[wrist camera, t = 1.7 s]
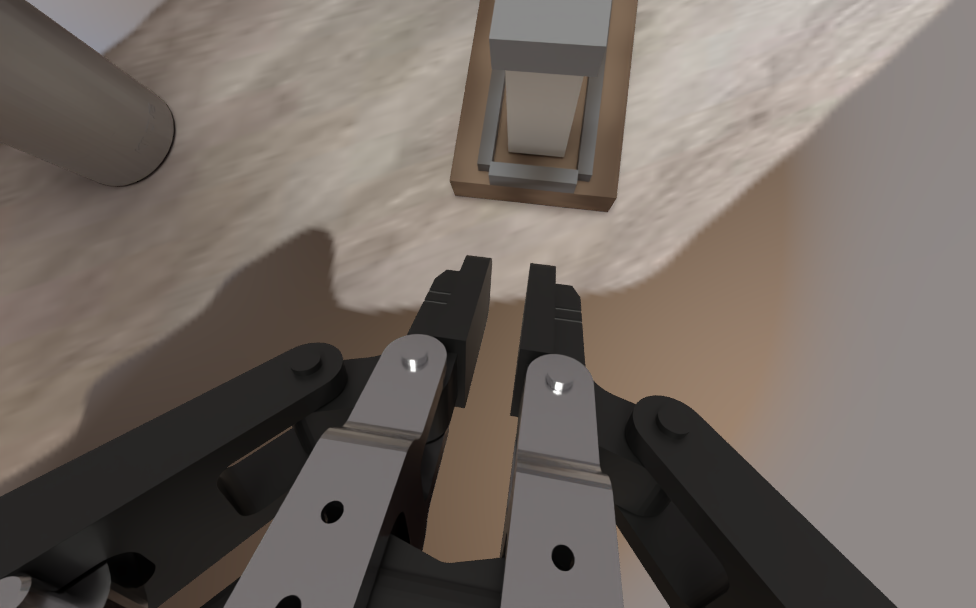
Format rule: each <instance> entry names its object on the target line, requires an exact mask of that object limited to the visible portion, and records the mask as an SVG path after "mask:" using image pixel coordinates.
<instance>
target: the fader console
mask: <svg viewBox="0 0 976 608" xmlns="http://www.w3.org/2000/svg"><path fill="white" fill-rule="evenodd" d="M637 3H638V0H612V1H611V10H610V18H609V27H608V35H607V44H606V49H605V52H604V56H603V59H602V63H601V66H600V69H599V73H598V76H597V77H587V76H584V77H583V81H582V85H581V89H580V93H579V97H578V102H577V106H576V110H575V114H574V118H573V122H572V126H571V130H570V135H569V139H568V143H567V147H566V151H565V155H564V157H556V156H546V155H535V154H525V153H514V152H508V129H507V103H506V77H505V70H493V69H492V68H491V57H490V45H489V35H490V29H491V23H492V17H493V11H494V5H495V0H480V3H479V9H478V15H477V21H476V27H475V33H474V39H473V45H472V51H471V57H470V63H469V69H468V75H467V81H466V86H465V92H464V98H463V104H462V110H461V116H460V122H459V128H458V134H457V140H456V146H455V152H454V158H453V164H452V170H451V176H450V183H451V186H452V188H453V191H454V193H455V195H457V196H466V197H475V198H485V199H494V200H503V201H512V202H521V203H531V204H540V205H549V206H558V207H568V208H577V209H586V210H595V211H604V212H608V211H609V209H610V208H611V206H612V204H613V203H614V201H615V200H616V198H617V189H618V180H619V170H620V161H621V152H622V142H623V133H624V124H625V114H626V105H627V96H628V87H629V77H630V68H631V59H632V49H633V40H634V31H635V21H636V12H637Z"/></svg>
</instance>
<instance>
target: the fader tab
mask: <svg viewBox="0 0 976 608" xmlns="http://www.w3.org/2000/svg"><path fill="white" fill-rule="evenodd" d="M611 1H612V0H495V5H494V11H493V17H492V23H491V29H490V35H489V45H490V57H491V68H492V69H493V70H505V77H506V103H507V129H508V152H514V153H525V154H535V155H546V156H556V157H564V155H565V151H566V147H567V143H568V139H569V135H570V130H571V126H572V122H573V118H574V114H575V110H576V106H577V102H578V97H579V93H580V89H581V85H582V81H583V77H584V76H587V77H597V76H598V73H599V69H600V66H601V63H602V59H603V56H604V52H605V49H606V44H607V35H608V27H609V18H610V10H611Z"/></svg>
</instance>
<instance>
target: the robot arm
mask: <svg viewBox="0 0 976 608" xmlns="http://www.w3.org/2000/svg"><path fill="white" fill-rule="evenodd" d="M173 132H174V126H173V118H172V115H171V112H170V110H169V108H168V106H167V105H166V103H165V102H164V101H163V100H162V99H161V98H160V97H159V96H157V95H156V94H154V93H153V92H152V91H150V90H149V89H148V88H146V87H145V86H143V85H142V84H141V83H139V82H138V81H136V80H135V79H134V78H132V77H131V76H130V75H128V74H127V73H125V72H124V71H123V70H121V69H120V68H118V67H117V66H116V65H114V64H113V63H112V62H110V61H109V60H108V59H106V58H105V57H104V56H102V55H101V54H99V53H98V52H97V51H95V50H94V49H92V48H91V47H90V46H88V45H87V44H86V43H84V42H83V41H81V40H80V39H78V38H77V37H76V36H74V35H73V34H72V33H70V32H69V31H67V30H66V29H65V28H63V27H62V26H60V25H59V24H58V23H56V22H55V21H54V20H52V19H51V18H49V17H48V16H47V15H45V14H44V13H43V12H41V11H40V10H38V9H37V8H36V7H34V6H33V5H31V4H30V3H29V2H27V1H25V0H0V142H1V143H4V144H6V145H9V146H11V147H14V148H16V149H18V150H21V151H23V152H26V153H28V154H31V155H33V156H35V157H38V158H40V159H42V160H45V161H47V162H49V163H52V164H54V165H57V166H59V167H62V168H64V169H67V170H69V171H71V172H74V173H76V174H79V175H81V176H84V177H86V178H89V179H91V180H94V181H96V182H99V183H101V184H104V185H110V186H122V185H128V184H131V183H134V182H137V181H139V180H141V179H143V178H144V177H146V176H147V175H149V174H150V173H151V172H152V171H154V170H155V169H156V168H157V167H158V165H159V164H160V163H161V162H162V161H163V159H164V158H165V156H166V154H167V153H168V151H169V148H170V145H171V143H172V138H173ZM491 272H492V258H485V257H477V256H469V255H467V256H466V257H465V260H464V262H463V265H462V267H461V270H460V271H453V270H446V271H444V272H443V273H442V274H440V275H439V276H438V277H436V278H435V280H434V282H433V284H432V286H431V288H430V290H429V292H428V294H427V296H426V298H425V301H424V302H423V304H422V306H421V308H420V310H419V312H418V314H417V316H416V318H415V320H414V322H413V324H412V326H411V328H410V330H409V332H408V334H407V336H403V337H401V338H398V339H396V340H394V341H393V342H392V343H390V344H389V345H388V346H387V347H386V349H385V350H384V351H383V353H382V355H380V356H375V357H369V358H359V359H349V360H343V357H342V354H341V352H340V351H339V350H338V349H337V348H336V347H334V346H332V345H330V344H326V343H308V344H304V345H301V346H298V347H295V348H293V349H291V350H289V351H287V352H285V353H283V354H281V355H279V356H277V357H275V358H273V359H271V360H269V361H267V362H265V363H263V364H261V365H259V366H258V367H255V368H253V369H251V370H249V371H248V372H245V373H243V374H241V375H239V376H238V377H236V378H234V379H232V380H230V381H228V382H226V383H224V384H222V385H220V386H218V387H216V388H214V389H212V390H210V391H208V392H206V393H204V394H202V395H201V396H198V397H196V398H194V399H192V400H190V401H188V402H186V403H184V404H182V405H180V406H178V407H176V408H175V409H172V410H170V411H169V412H167V413H165V414H163V415H161V416H159V417H157V418H155V419H153V420H151V421H149V422H147V423H145V424H143V425H141V426H139V427H137V428H135V429H133V430H131V431H129V432H127V433H125V434H123V435H121V436H119V437H117V438H115V439H113V440H111V441H109V442H107V443H106V444H103V445H102V446H99V447H98V448H96V449H94V450H92V451H90V452H88V453H86V454H84V455H82V456H80V457H78V458H76V459H74V460H72V461H70V462H68V463H66V464H64V465H62V466H60V467H58V468H56V469H54V470H52V471H50V472H48V473H46V474H44V475H42V476H40V477H38V478H36V479H35V480H32V481H30V482H29V483H27V484H25V485H23V486H21V487H19V488H17V489H15V490H13V491H11V492H9V493H7V494H5V495H3V496H1V497H0V608H157V607H159V606H160V605H161V604H162V603H164V602H165V601H166V600H168V599H169V598H170V597H172V596H173V595H174V594H175V593H177V592H178V591H179V590H181V589H182V588H183V587H185V586H186V585H187V584H189V583H190V582H191V581H192V580H194V579H195V578H196V577H198V576H199V575H200V574H202V573H203V572H204V571H205V570H207V569H208V568H209V567H211V566H212V565H213V564H215V563H216V562H217V561H219V560H220V559H221V558H222V557H223V556H225V555H226V554H228V553H229V552H230V551H232V550H233V549H234V548H235V547H237V546H238V545H239V544H241V543H242V542H243V541H245V540H246V539H247V538H248V537H250V536H251V535H252V534H254V533H255V532H256V531H258V530H259V529H260V528H262V527H263V526H264V525H265V524H267V523H268V522H269V521H271V520H272V519H273V518H274V519H273V521H272V523H271V525H270V526H269V528H268V530H267V532H266V534H265V535H264V537H263V539H262V541H261V543H260V544H259V546H258V548H257V550H256V551H255V553H254V555H253V556H252V558H251V560H250V562H249V564H248V565H247V567H246V569H245V571H244V572H243V574H242V576H241V577H239V578H238V579H237V580H235V581H234V582H233V583H232V584H230V585H229V586H228V587H226V588H225V589H224V590H222V591H221V592H220V593H218V594H217V595H216V596H214V597H213V598H212V599H211V600H209V601H208V602H207V603H205V604H204V605H203V606H202V607H200V608H624V605H623V595H622V584H621V573H620V564H619V553H618V542H617V532H616V525H617V526H618V528H619V529H620V531H621V533H622V534H623V536H624V537H625V539H626V540H627V542H628V543H629V545H630V547H631V548H632V549H633V551H634V553H635V554H636V556H637V557H638V559H639V560H640V562H641V563H642V565H643V567H644V568H645V570H646V571H647V573H648V574H649V576H650V577H651V579H652V580H653V582H654V583H655V585H656V586H657V588H658V590H659V591H660V593H661V594H662V596H663V597H664V599H665V600H666V602H667V603H668V605H669V606H670V608H897V607H896V606H895V605H894V604H893V603H892V602H891V601H890V600H889V599H888V598H887V597H886V596H885V595H884V594H883V593H882V592H881V591H880V590H879V589H878V588H877V587H876V586H874V584H873V583H872V582H871V581H870V580H869V579H868V578H866V577H865V576H864V575H863V574H862V573H861V572H860V571H859V570H858V569H857V568H856V567H855V566H854V565H853V564H852V563H851V562H850V561H849V560H848V559H847V558H846V557H845V556H844V555H843V554H842V553H841V552H839V550H838V549H837V548H836V547H835V546H834V545H833V544H831V543H830V542H829V541H828V540H827V539H826V538H825V537H824V536H823V535H822V534H821V533H820V532H819V531H818V530H817V529H816V528H815V527H814V526H813V525H812V524H811V523H810V522H808V520H807V519H806V518H805V517H804V516H803V515H802V514H801V513H800V512H798V511H797V510H796V509H795V508H794V507H793V506H792V505H791V504H790V503H789V502H788V501H787V500H786V499H785V498H784V497H783V496H782V495H781V494H780V493H779V492H778V491H777V490H775V488H774V487H772V485H771V484H770V483H768V481H767V480H765V479H764V478H763V477H762V476H761V475H760V474H759V473H758V472H757V471H756V470H755V469H754V468H753V467H752V466H751V465H750V464H749V463H748V462H747V461H746V460H745V459H744V458H743V457H742V456H741V455H740V454H738V452H737V451H736V450H735V449H734V448H732V447H731V446H730V445H729V444H728V443H727V442H726V441H725V440H724V439H723V438H722V437H721V436H720V435H719V434H718V433H717V432H716V431H715V430H714V429H713V428H712V427H711V426H710V425H709V424H708V423H707V422H706V421H705V420H704V419H703V418H702V417H701V416H699V415H698V414H697V413H696V412H695V411H694V410H693V409H692V408H690V407H689V406H687V405H686V404H684V403H682V402H680V401H678V400H675V399H673V398H670V397H665V396H656V395H655V396H648V397H645V398H643V399H641V400H640V401H639V402H637V404H634V403H632V402H629V401H627V400H624V399H622V398H620V397H617V396H615V395H613V394H611V393H609V392H607V391H605V390H604V389H602V388H601V387H600V386H598V385H597V384H596V383H595V382H594V381H593V378H592V376H591V374H590V372H589V371H588V369H587V368H586V367H585V356H584V343H583V329H582V314H581V300H580V296H579V295H578V294H577V292H576V291H575V289H574V288H573V286H570V285H562V284H555V283H556V266H550V265H542V264H534V263H530V270H529V277H528V285H527V292H526V299H525V306H524V313H523V322H522V329H521V336H520V345H519V352H518V360H517V367H516V375H515V382H514V390H513V398H512V406H511V413H510V415H511V416H516V417H518V425H517V434H516V440H515V446H514V453H513V461H512V469H511V477H510V485H509V493H508V501H507V508H506V516H505V524H504V531H503V538H502V545H501V552H500V558H494V559H485V560H475V561H465V562H456V563H444V562H441V561H438V560H437V559H435V558H433V557H431V556H430V555H428V554H426V553H424V552H422V550H423V545H424V540H425V535H426V527H427V518H428V512H429V507H430V502H431V498H432V495H433V491H434V487H435V483H436V479H437V475H438V471H439V467H440V464H441V460H442V456H443V452H444V448H445V444H446V440H447V437H448V432H449V424H450V421H451V417H452V414H453V410H454V407H461V408H465V405H466V402H467V397H468V394H469V390H470V386H471V381H472V377H473V374H474V370H475V366H476V362H477V358H478V354H479V350H480V346H481V342H482V338H483V334H484V330H485V326H486V322H487V316H488V311H489V302H490V287H491ZM290 426H292V427H293V428H292V429H290V430H289V431H287V432H286V433H284V434H282V435H281V436H279V437H278V438H276V439H275V440H273V441H271V442H270V443H268V444H267V445H265V446H264V447H262V448H261V449H259V450H257V451H256V452H254V453H253V454H252V455H250V456H248V457H246V458H245V459H244V460H242V461H240V462H239V463H237V464H235V465H233V466H231V467H228V466H229V465H231V464H232V463H234V462H235V461H237V460H238V459H240V458H241V457H243V456H245V455H246V454H248V453H249V452H251V451H253V450H254V449H256V448H257V447H259V446H260V445H262V444H264V443H265V442H266V441H268V440H270V439H271V438H273V437H275V436H276V435H278V434H279V433H281V432H283V431H284V430H286V429H287V428H289V427H290ZM227 467H228V468H227Z"/></svg>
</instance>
